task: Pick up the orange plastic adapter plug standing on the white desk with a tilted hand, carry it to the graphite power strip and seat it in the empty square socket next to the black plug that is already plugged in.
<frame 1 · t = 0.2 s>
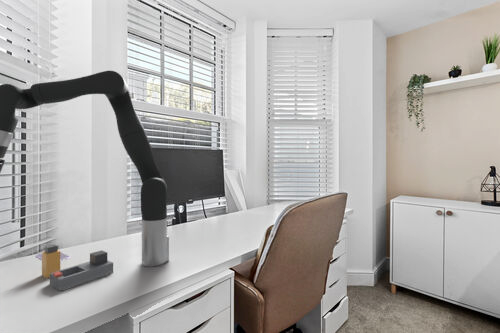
power strip: (83, 277, 85), on the table
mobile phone: (52, 258, 104), on the table
adapter plug: (51, 274, 88), on the table
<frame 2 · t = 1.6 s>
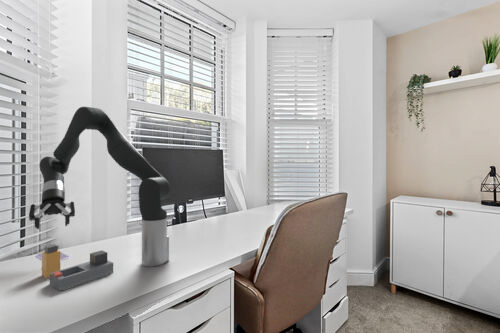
hand: (52, 226, 97), 15 cm above the table, tool tilted 45°, fingers open, 8 cm apart
nothing on the table moved.
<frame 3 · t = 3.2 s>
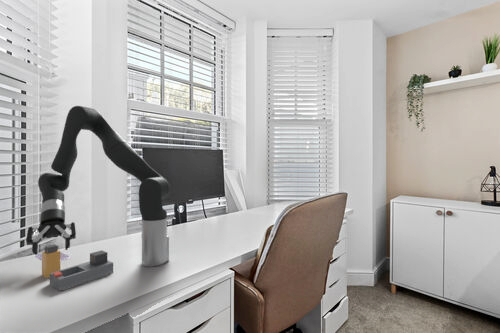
hand: (51, 251, 89), 8 cm above the table, tool tilted 45°, fingers open, 8 cm apart
nothing on the table moved.
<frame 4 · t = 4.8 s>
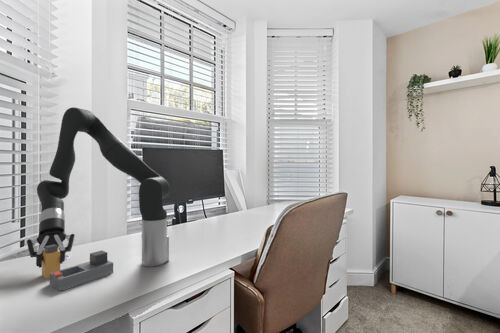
hand: (50, 264, 86), 4 cm above the table, tool tilted 45°, fingers closed on adapter plug, 5 cm apart
adapter plug: (51, 274, 88), on the table, touching gripper
everything else where it was.
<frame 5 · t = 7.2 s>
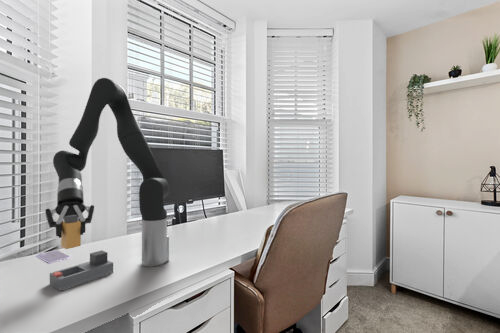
hand: (71, 234, 81), 16 cm above the table, tool tilted 45°, fingers closed on adapter plug, 5 cm apart
adapter plug: (71, 246, 82), point 12 cm above the table, touching gripper
everything else where it was.
when the fingers open (7 cm above the table, at t = 9.7 s): adapter plug drops 1 cm, resting on power strip.
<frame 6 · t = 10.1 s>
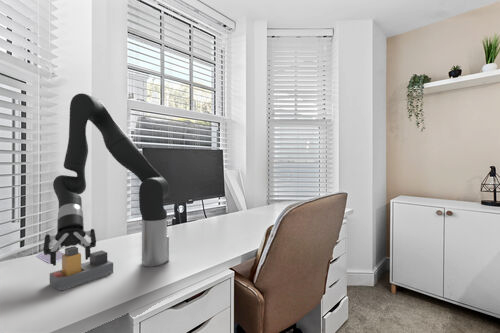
hand: (71, 261, 81), 7 cm above the table, tool tilted 45°, fingers open, 8 cm apart
adapter plug: (71, 278, 82), point 1 cm above the table, touching power strip
everything else where it was.
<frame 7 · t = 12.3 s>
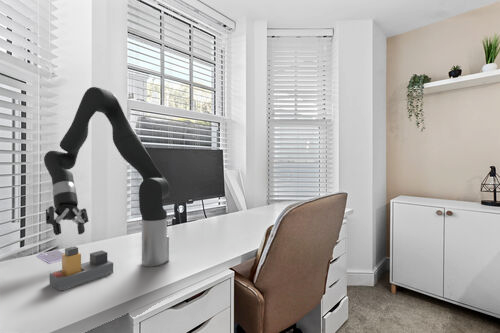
hand: (70, 233, 94), 12 cm above the table, tool tilted 30°, fingers open, 8 cm apart
nothing on the table moved.
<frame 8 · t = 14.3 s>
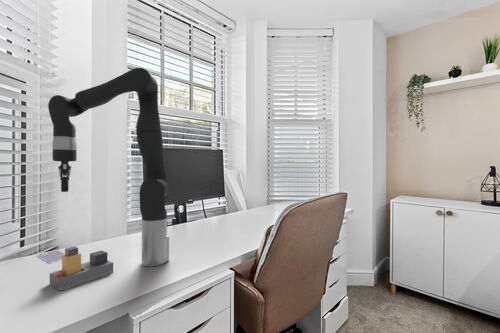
hand: (64, 190, 98), 28 cm above the table, tool pointing down, fingers open, 8 cm apart
nothing on the table moved.
at the end: adapter plug 0.1 cm from the target spot on the power strip, point 1.0 cm above the power strip's base; adapter plug tilted 0°; the gripper is holding nothing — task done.
